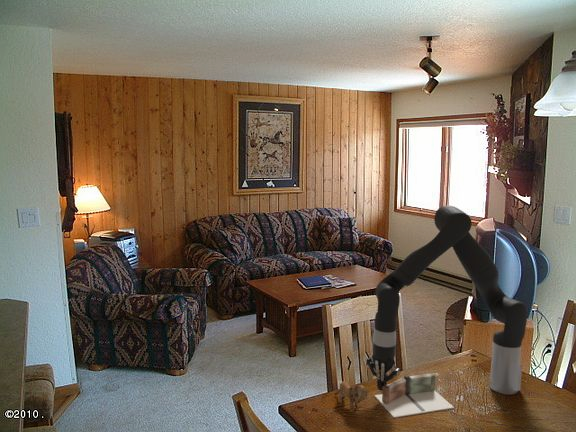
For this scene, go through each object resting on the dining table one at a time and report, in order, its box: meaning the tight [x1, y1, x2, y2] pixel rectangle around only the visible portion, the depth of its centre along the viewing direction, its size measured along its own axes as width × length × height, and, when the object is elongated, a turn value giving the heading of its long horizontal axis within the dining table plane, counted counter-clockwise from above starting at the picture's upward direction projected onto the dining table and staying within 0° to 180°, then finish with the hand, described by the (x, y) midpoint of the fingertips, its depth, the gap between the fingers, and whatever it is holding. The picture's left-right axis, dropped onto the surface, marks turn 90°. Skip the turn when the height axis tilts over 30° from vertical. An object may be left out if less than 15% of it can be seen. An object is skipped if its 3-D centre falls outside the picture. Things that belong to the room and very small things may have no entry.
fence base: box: [403, 372, 436, 395], centre depth 173 cm, size 12×2×6 cm, turn 106°
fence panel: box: [381, 377, 406, 404], centre depth 168 cm, size 10×2×6 cm, turn 127°
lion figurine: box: [334, 381, 370, 413], centre depth 165 cm, size 15×5×9 cm, turn 37°
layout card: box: [374, 390, 455, 419], centre depth 167 cm, size 22×14×1 cm, turn 106°
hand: (381, 389), depth 168 cm, fingers closed
